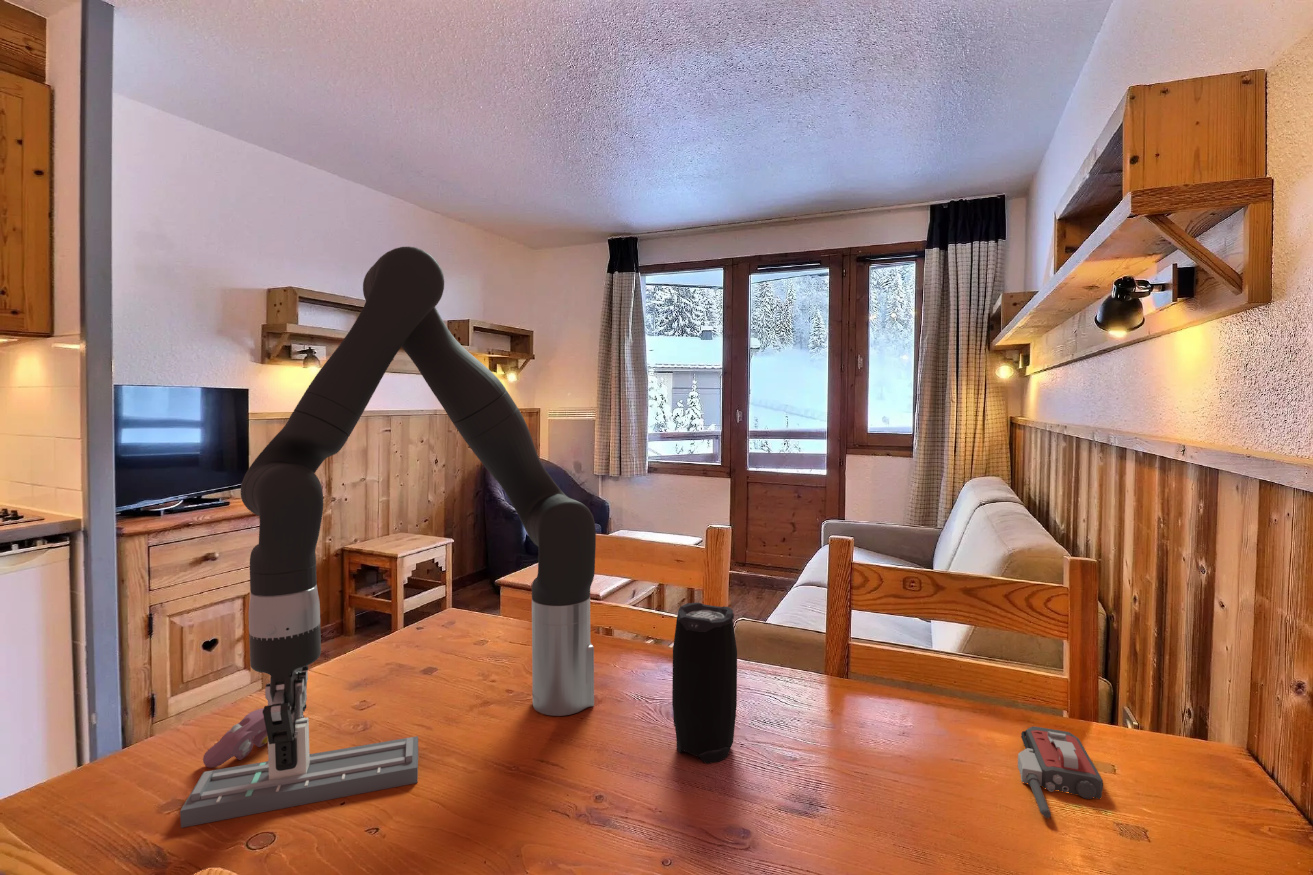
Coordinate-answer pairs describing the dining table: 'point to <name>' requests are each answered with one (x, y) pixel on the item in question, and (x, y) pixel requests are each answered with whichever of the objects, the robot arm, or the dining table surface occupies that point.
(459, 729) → the dining table surface
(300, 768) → the fader tab
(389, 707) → the dining table surface
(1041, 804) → the walkie-talkie
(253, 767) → the fader console
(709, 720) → the portable speaker
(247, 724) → the video game controller
